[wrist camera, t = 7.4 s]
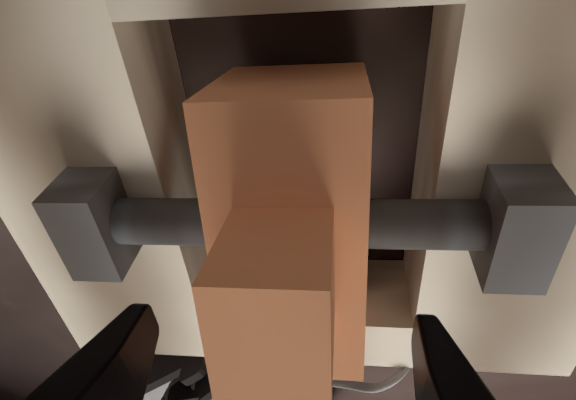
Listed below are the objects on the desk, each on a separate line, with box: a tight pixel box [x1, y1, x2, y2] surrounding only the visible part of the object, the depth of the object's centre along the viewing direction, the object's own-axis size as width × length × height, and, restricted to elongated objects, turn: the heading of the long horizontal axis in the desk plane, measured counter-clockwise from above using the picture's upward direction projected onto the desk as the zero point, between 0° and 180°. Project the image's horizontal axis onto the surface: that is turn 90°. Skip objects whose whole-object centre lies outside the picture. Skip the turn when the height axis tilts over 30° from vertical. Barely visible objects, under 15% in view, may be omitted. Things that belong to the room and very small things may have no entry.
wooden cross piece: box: [182, 62, 373, 400], centre depth 11 cm, size 4×8×8 cm, turn 4°
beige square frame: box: [0, 0, 576, 376], centre depth 13 cm, size 20×16×5 cm
